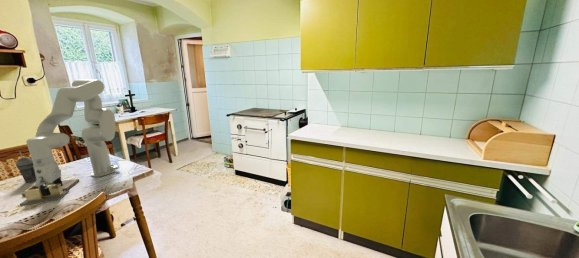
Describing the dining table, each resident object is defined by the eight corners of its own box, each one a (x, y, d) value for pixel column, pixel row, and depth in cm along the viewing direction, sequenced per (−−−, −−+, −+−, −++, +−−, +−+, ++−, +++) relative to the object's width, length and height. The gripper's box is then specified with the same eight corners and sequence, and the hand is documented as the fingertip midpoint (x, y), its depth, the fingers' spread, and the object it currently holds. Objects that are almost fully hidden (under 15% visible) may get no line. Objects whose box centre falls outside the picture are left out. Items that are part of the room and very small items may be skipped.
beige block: (27, 201, 119) (23, 191, 117) (36, 195, 124) (32, 185, 123) (58, 197, 122) (55, 187, 120) (65, 191, 128) (62, 182, 126)
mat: (69, 191, 129) (68, 190, 129) (58, 200, 121) (58, 198, 121) (33, 196, 125) (33, 195, 125) (20, 205, 117) (19, 204, 117)
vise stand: (79, 181, 142) (72, 158, 138) (67, 190, 131) (59, 165, 127) (38, 186, 137) (30, 162, 133) (22, 196, 125) (13, 170, 122)
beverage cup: (28, 184, 138) (17, 153, 133) (19, 183, 140) (8, 152, 135) (43, 179, 145) (33, 149, 140) (34, 178, 147) (24, 148, 142)
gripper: (40, 166, 112) (50, 197, 116) (63, 154, 128) (71, 182, 132) (20, 168, 110) (31, 200, 114) (46, 155, 126) (55, 184, 130)
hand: (53, 190), depth 123 cm, fingers open, 9 cm apart
